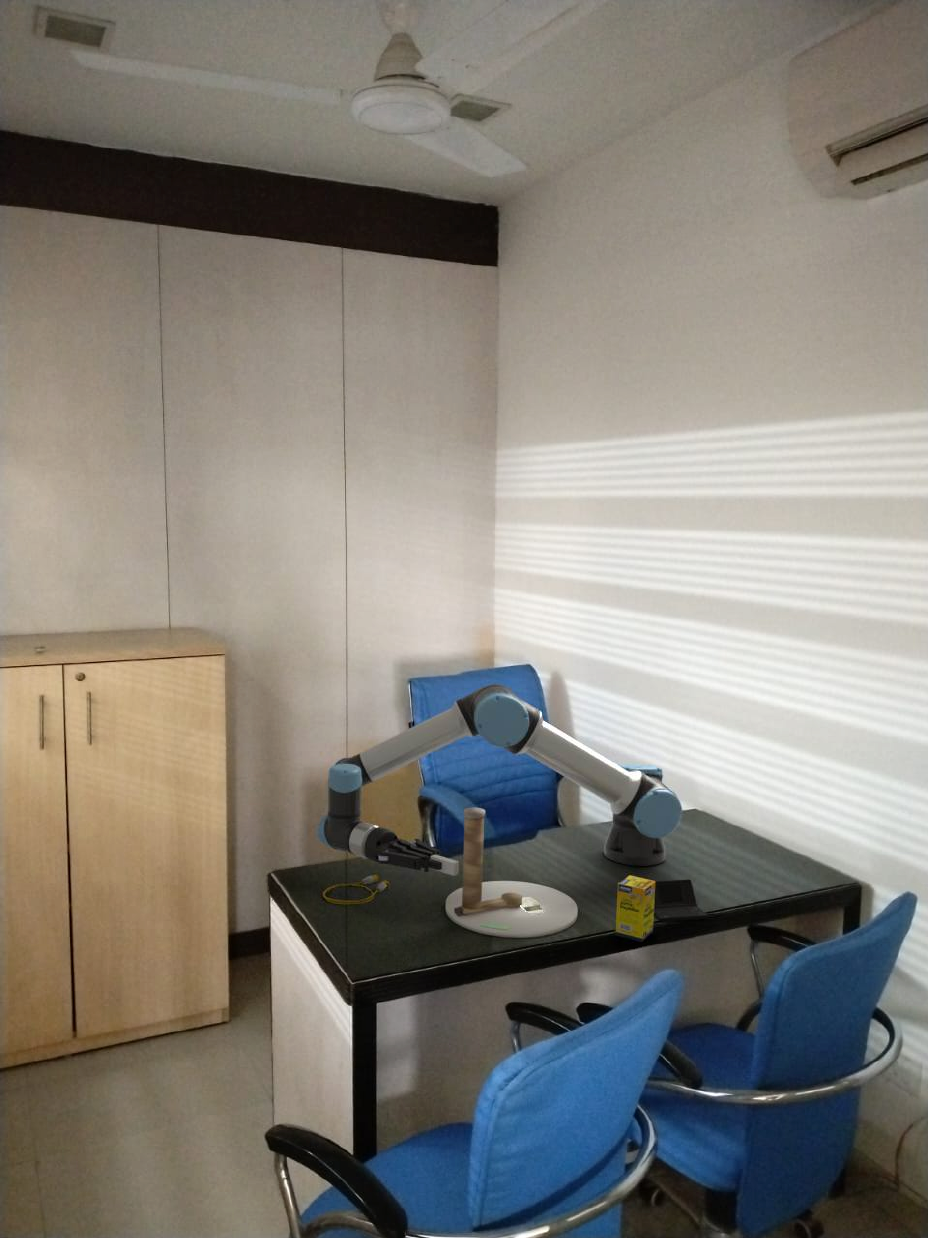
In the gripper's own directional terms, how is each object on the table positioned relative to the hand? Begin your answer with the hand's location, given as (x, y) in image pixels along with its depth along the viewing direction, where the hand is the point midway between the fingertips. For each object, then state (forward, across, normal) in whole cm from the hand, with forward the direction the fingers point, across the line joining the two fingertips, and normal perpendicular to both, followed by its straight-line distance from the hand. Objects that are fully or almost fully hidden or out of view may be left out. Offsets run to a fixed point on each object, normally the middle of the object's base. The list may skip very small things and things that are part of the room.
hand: (456, 868), depth 209 cm
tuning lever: (+5, -4, -8) cm, 11 cm away
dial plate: (+7, -10, -10) cm, 16 cm away
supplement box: (+33, -17, -10) cm, 38 cm away
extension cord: (-23, +6, -10) cm, 26 cm away
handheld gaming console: (+34, -33, -10) cm, 49 cm away
